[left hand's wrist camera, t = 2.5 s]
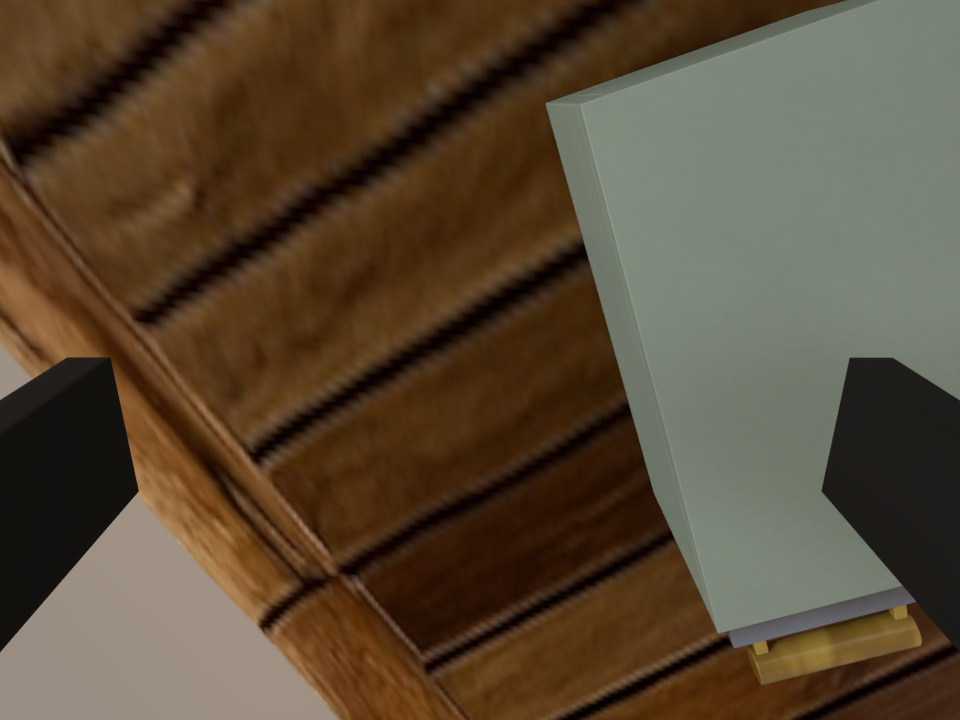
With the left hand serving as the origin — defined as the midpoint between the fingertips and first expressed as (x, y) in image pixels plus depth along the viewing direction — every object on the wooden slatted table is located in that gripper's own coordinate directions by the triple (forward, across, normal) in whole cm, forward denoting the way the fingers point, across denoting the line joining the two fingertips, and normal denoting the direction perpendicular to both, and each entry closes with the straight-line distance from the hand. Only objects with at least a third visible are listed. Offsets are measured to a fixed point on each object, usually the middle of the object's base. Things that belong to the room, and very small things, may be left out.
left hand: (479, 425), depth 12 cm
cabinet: (+21, +12, -3) cm, 24 cm away
